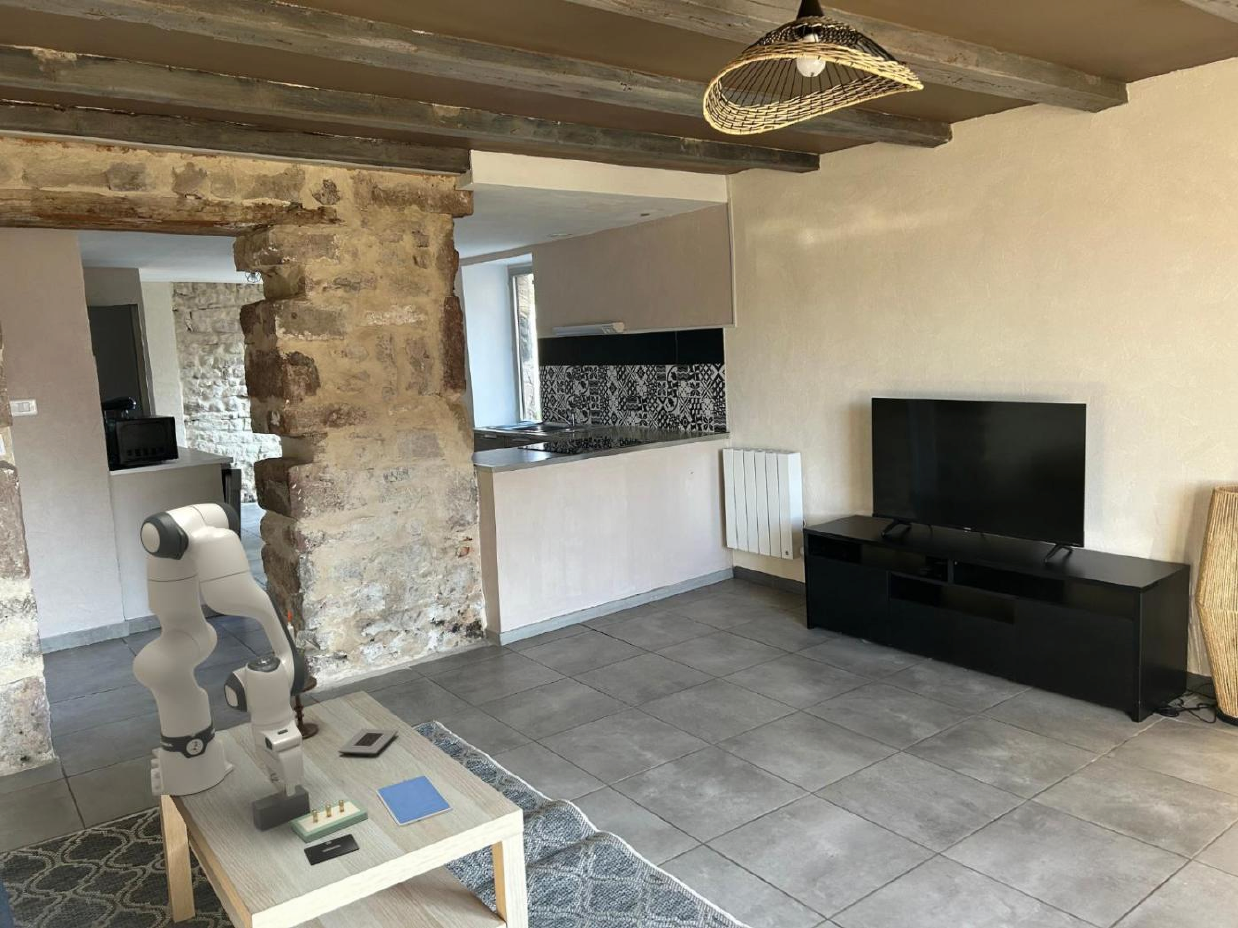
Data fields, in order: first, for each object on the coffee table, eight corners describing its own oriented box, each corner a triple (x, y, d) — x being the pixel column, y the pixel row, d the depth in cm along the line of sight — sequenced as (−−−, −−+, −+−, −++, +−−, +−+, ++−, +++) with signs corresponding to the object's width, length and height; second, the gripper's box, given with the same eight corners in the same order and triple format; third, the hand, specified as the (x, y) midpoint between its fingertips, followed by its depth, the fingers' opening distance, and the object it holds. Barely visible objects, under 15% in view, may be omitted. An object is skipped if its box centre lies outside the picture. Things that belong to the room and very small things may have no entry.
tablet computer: (454, 812, 202) (453, 806, 202) (399, 830, 196) (398, 824, 196) (426, 778, 219) (425, 773, 219) (375, 794, 212) (374, 789, 212)
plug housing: (254, 822, 202) (251, 801, 201) (302, 804, 208) (300, 784, 208) (261, 831, 198) (258, 810, 197) (310, 812, 205) (308, 791, 204)
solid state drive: (303, 851, 189) (303, 848, 189) (351, 836, 194) (351, 833, 194) (311, 867, 183) (311, 864, 183) (360, 850, 189) (359, 847, 188)
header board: (291, 826, 199) (289, 809, 198) (351, 803, 208) (349, 787, 207) (306, 842, 192) (304, 825, 191) (367, 817, 201) (366, 801, 200)
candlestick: (294, 724, 254) (280, 604, 249) (329, 725, 252) (316, 605, 247) (272, 741, 244) (258, 617, 239) (308, 742, 241) (295, 617, 237)
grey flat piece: (376, 760, 230) (375, 751, 230) (339, 758, 232) (338, 749, 232) (398, 737, 243) (398, 729, 242) (363, 735, 245) (362, 727, 244)
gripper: (244, 721, 206) (252, 778, 208) (276, 747, 190) (285, 808, 192) (271, 712, 210) (279, 768, 212) (305, 737, 194) (313, 796, 196)
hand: (282, 787), depth 202 cm, fingers open, 8 cm apart
